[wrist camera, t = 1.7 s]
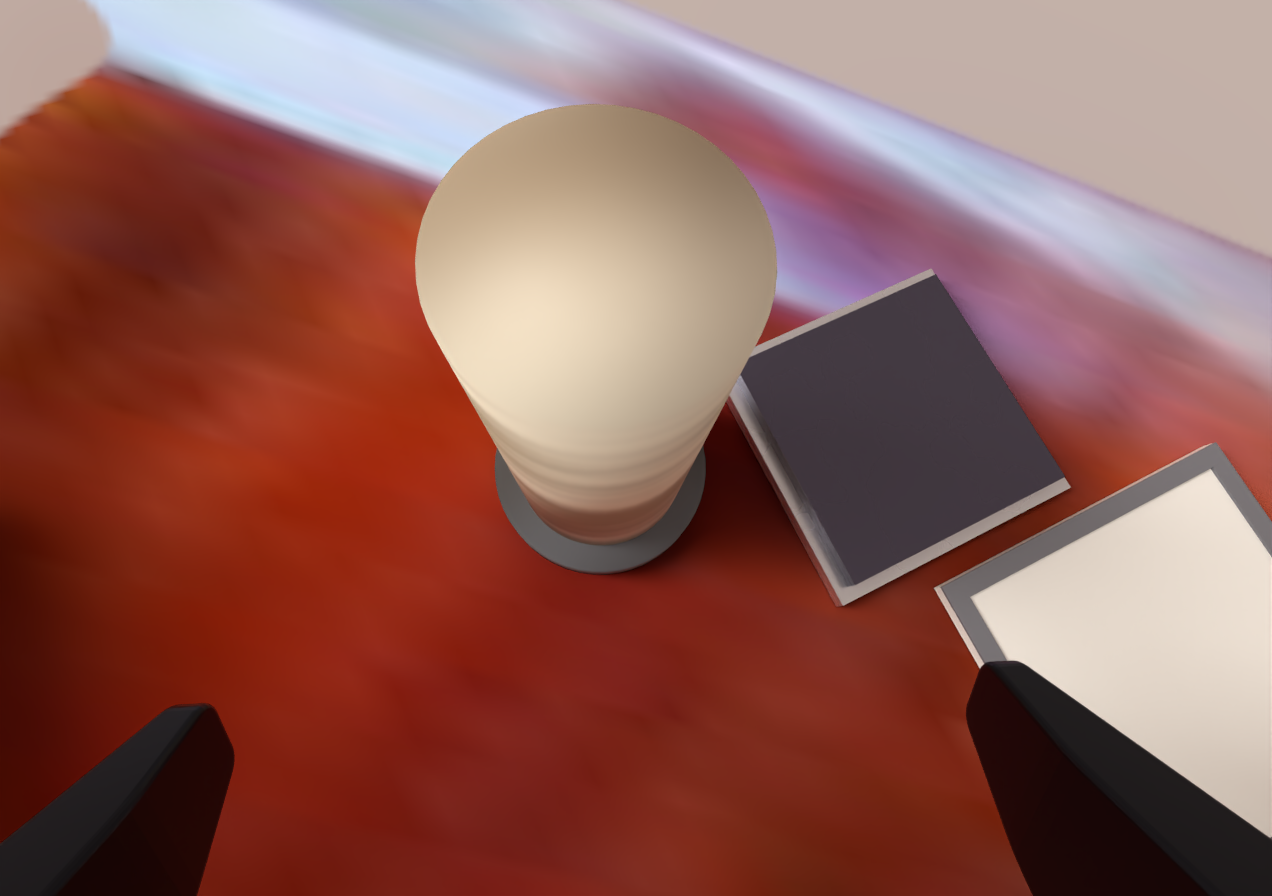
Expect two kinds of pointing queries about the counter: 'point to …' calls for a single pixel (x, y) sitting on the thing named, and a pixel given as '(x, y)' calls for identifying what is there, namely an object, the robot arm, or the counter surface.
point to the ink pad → (889, 435)
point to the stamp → (597, 318)
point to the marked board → (1149, 621)
